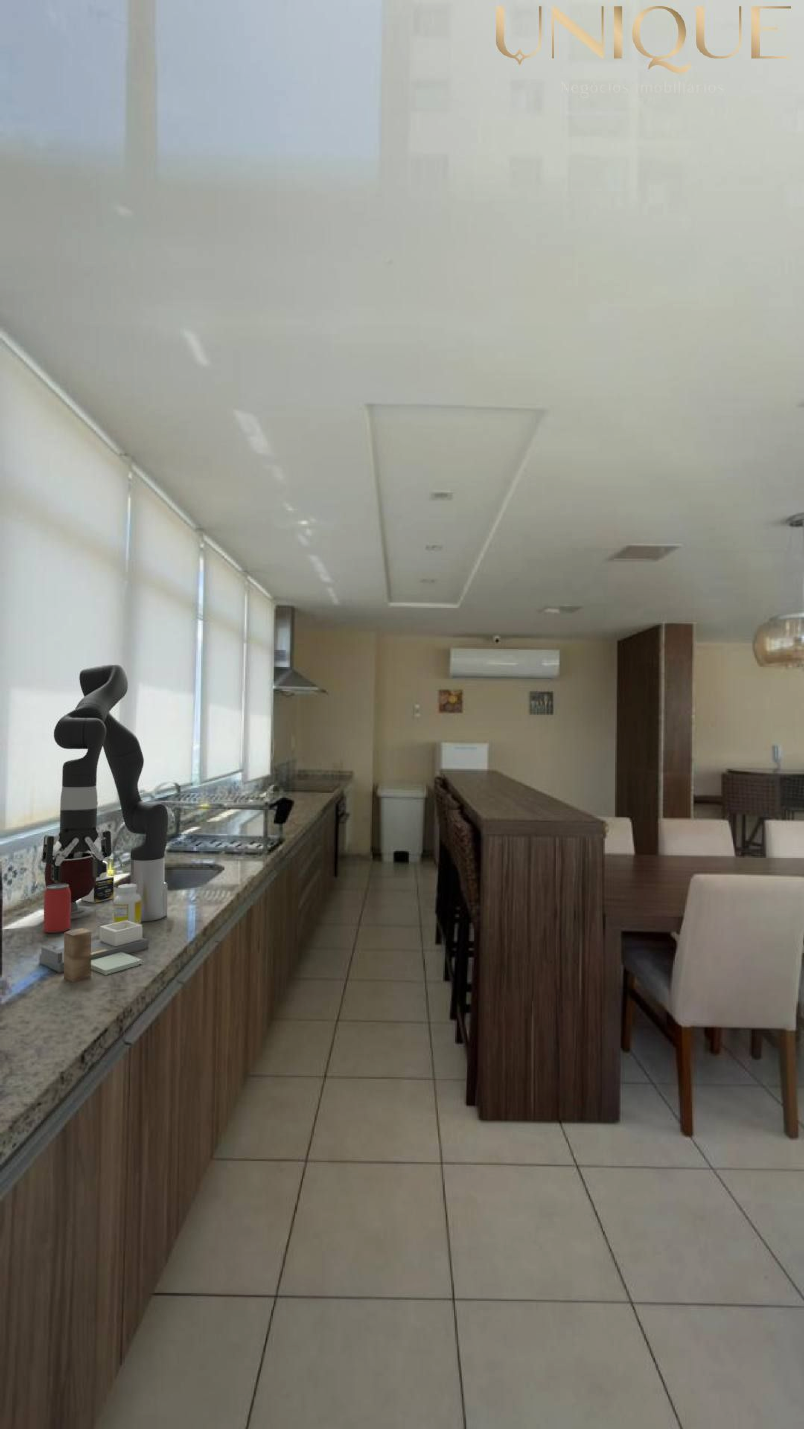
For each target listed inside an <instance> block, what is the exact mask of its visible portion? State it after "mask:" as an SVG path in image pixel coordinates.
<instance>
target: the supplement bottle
mask: <svg viewBox="0 0 804 1429" xmlns="http://www.w3.org/2000/svg"><path fill="white" fill-rule="evenodd" d="M136 890H137V885H136V884H131V883H124V884H119V885H118V886H117V892H118V895H116V896H114V898H113V923H117V922H121V921H125V920H128V921H131V922H134V923H137V924H140V925H142V921H141V897H140V895H139V894H137V893H136Z"/></svg>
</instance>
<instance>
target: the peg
mask: <svg viewBox="0 0 804 1429" xmlns="http://www.w3.org/2000/svg"><path fill="white" fill-rule="evenodd" d="M63 933H64V934H63V936H64V937H63V941H64V942H63V948H64V971H63V978H64V979H66V980H68V981H70V982H72V983H75V982H77V981H81V980H84V979H88V978H91V977H92V969H91V941H92V931H91V930H89V929H86V928H83V927H81V928H78V929H77V928H75V929H71V930H67V931H64V932H63Z"/></svg>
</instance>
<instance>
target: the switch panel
mask: <svg viewBox="0 0 804 1429" xmlns="http://www.w3.org/2000/svg"><path fill="white" fill-rule="evenodd" d="M149 942H150V940H149V939H148V938H144V937H142V939H141V940H138V941H134V942H130V943H126V944H122V945H119V946H113V945H110V944H107V943H104V942H102V941H100V938H99V939H95V940H91V960H94V959H98V958H101V957H105V956H109V955H112V954H116V953H120V952H123V953H126V954H128V955H129V954H131V953H132V954H133V953H135V952H138V951H142V950H146V949H149V948H150V947H149V946H150V945H149ZM40 949H41V951H40V952H41V953H39V956H38V959H39V960H38V962H39V964H41V965H43V966H45V967H46V968H49V969H50V970H53V971H55V972H58V973H64V947H63V948H60V949H59V948H58V949H55V948H52V947H50V946H48V945H43V946H41V948H40Z"/></svg>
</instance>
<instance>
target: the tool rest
mask: <svg viewBox="0 0 804 1429" xmlns="http://www.w3.org/2000/svg"><path fill="white" fill-rule="evenodd" d="M139 964H141V965H143V959H141V958H138V957H136V956H134V955H131V954H129V953H128V954H126V953H123V952H120V953H116V954H112V955H109V956H105V957H101V958H98V959H94V960H91V971H95V972H97V973H100V974H102V975H104V976H107V975H110V974H113V973H117V972H120V971H123V970H127V969H129V968H130V967H131V968H133V967H136V966H140V965H139Z"/></svg>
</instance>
